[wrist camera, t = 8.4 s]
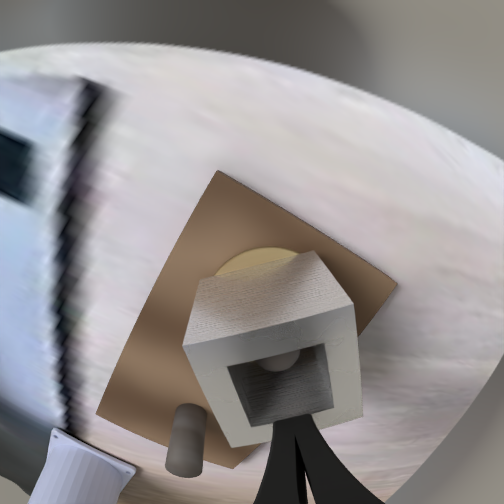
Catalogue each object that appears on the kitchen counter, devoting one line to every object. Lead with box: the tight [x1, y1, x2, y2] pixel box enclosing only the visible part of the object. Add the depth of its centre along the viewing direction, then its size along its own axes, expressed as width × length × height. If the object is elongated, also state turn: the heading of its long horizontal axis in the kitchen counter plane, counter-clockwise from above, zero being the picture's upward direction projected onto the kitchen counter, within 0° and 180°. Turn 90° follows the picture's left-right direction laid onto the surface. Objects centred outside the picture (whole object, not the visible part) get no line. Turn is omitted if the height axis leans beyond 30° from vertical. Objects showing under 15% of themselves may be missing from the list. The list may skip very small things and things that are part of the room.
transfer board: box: [96, 170, 397, 478], centre depth 15 cm, size 18×11×6 cm, turn 149°
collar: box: [182, 250, 363, 448], centre depth 13 cm, size 5×5×6 cm
